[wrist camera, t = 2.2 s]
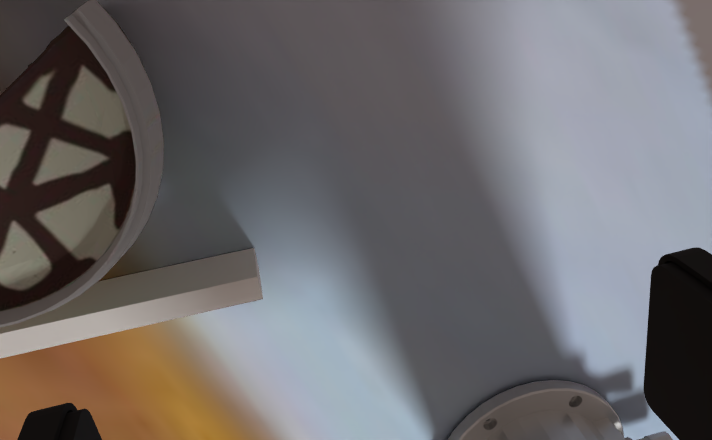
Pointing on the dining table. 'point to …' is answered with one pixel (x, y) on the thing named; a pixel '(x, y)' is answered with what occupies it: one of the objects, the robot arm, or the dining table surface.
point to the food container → (74, 165)
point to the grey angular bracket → (140, 301)
